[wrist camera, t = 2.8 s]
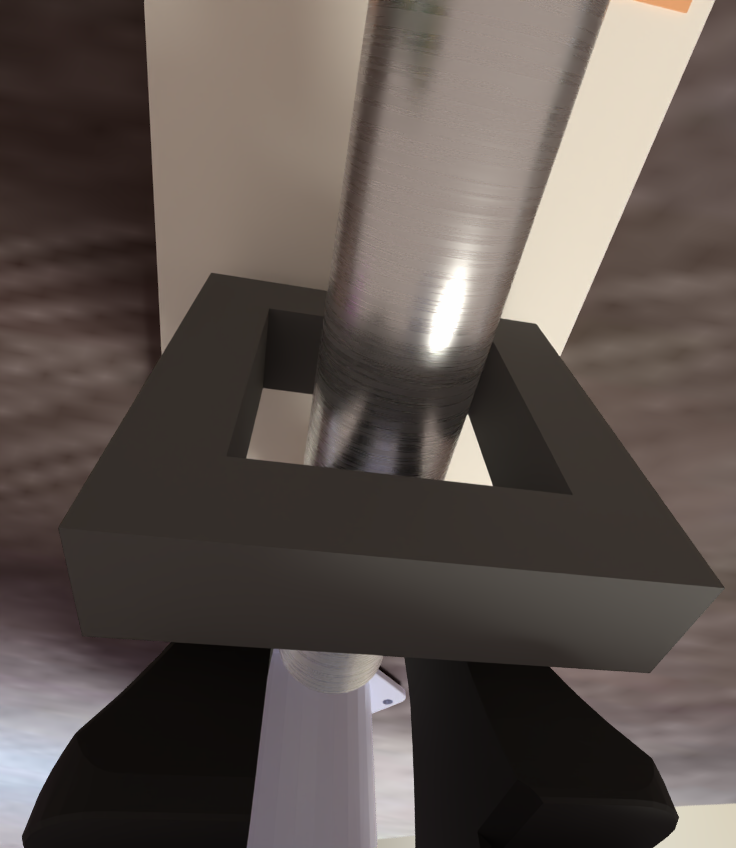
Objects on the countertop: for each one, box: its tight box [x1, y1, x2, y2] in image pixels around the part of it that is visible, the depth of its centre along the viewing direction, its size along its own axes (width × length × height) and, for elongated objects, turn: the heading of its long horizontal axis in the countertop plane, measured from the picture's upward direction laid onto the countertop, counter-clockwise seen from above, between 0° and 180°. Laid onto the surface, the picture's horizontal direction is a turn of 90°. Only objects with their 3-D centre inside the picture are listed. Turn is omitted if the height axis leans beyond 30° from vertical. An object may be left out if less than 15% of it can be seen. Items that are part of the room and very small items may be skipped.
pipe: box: [279, 0, 610, 694], centre depth 8 cm, size 20×3×3 cm, turn 170°
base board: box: [144, 0, 715, 486], centre depth 13 cm, size 22×11×1 cm, turn 170°
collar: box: [58, 273, 725, 673], centre depth 10 cm, size 2×8×8 cm, turn 80°
